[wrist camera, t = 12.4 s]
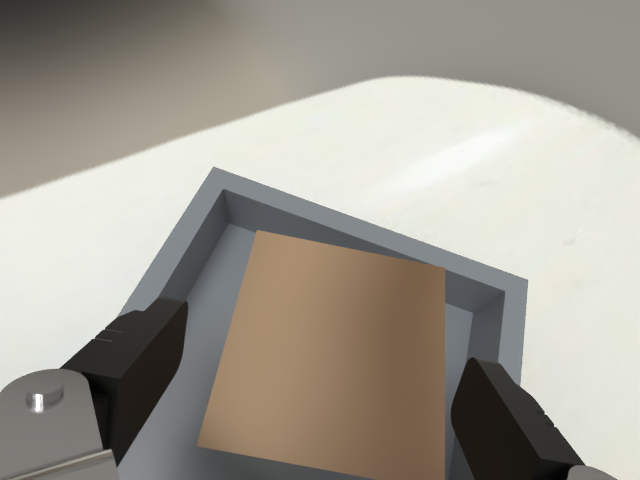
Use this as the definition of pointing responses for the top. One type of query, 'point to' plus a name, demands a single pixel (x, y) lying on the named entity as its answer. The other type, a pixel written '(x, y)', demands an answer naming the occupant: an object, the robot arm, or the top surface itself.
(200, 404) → the box
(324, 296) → the walnut block
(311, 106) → the top surface
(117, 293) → the top surface
